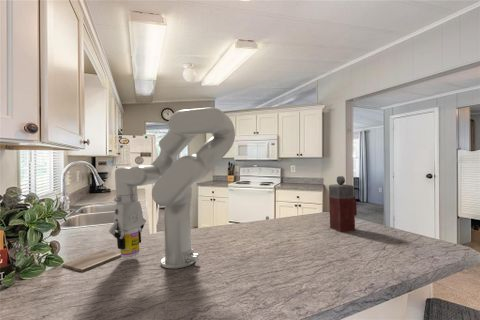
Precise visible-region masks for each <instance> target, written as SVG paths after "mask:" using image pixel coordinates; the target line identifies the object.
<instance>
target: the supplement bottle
mask: <svg viewBox="0 0 480 320" xmlns="http://www.w3.org/2000/svg"><path fill="white" fill-rule="evenodd" d="M120 234H121V232H120ZM123 238H124V239H125V249H119V250H120V253H121V257H120V258H123V259H124V258H132V257H135V256H138V255H139V254H140V243H139V231H138V228H134V229H131V230H127V231H125V233H124V236H123Z"/></svg>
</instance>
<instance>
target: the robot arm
mask: <svg viewBox="0 0 480 320" xmlns="http://www.w3.org/2000/svg"><path fill="white" fill-rule="evenodd" d="M168 128H169V130H168V131H167V132H166V134H164V136H163V137H162V138H161V139H159V141H158V145H159V147H160V152H159V154H158V156H157V157H156V159H154V161H153V162H151V164H150V165H136V166H132V167H131V166H129V167H118V168H116V169H115V170H114V180H115V181H114V182H115V198H113V202H115V203H116V204H115V206H114V211H113V224H112V225H111V227H110V228H109V229H108V233H110V234H111V235H112V236H113V237H114V238H115V239H116V242H117V244H116V245H117V249H118V250H120V249H125V239H124V238H123V236H124V233H125V231H127V230H131V229H134V228H138V231H139V244H142V234H141V233H142V232H143V229H144V227H145V224H146V222H147V220H146V219H145V218H144V215H143V210H142V204H141V202H140V200H138V199H139V198H138V197H139V196H138V187H141V186H147V185H153V187H152V190H151V197H152V200H153V202H155V204H157V205H159V206H161V207H164V214H163V216H164V219H163V220H164V225H163V226H164V227H163V228H164V257H163V258H161V260H160V266H161V267H163V268H166V269H173V270H174V269H182V268H185V267H188V266H192V265H193V264H194V263H197V262H198V260H199V257H200V254H199V253H195V252H194V248H192V225H191V224H192V223H191V220H192V217H191V210H192V209H191V207H192V205H191V204H192V196H193V187H192V185H193V184H194V183H198V182H200V181H203V180H204V179H206V177H207V176H208V174H210V172H211V171H212V170H213V169H214V168H215V167H216V166H217V165H218V163H219V162H220V161H221V160H223V158H224V157H225V156H226V154H227V153H228V152H229V151H230V150H231V148H232V147H233V145H234V142H235V139H236V131H235V130H236V129H235V126H234V124H233V121H232V119H231V118H230V117H229V116H228V115H227V114H226V113H225V112H223V110H221V109H219V108H216V107H202V108H191V109H181V110H177V111H176V112H173V113H172V115H171V116H170V117H169V119H168ZM201 134H211V136H210V138H209V139H208V140H207V141H205V142H204V143H203V144H202V145H201V146H200V148H199V149H198V150H197V151H196V152H195V153H193V154H191V155H184V156H181V157H179V155H180V154H181V153H182V152H183V151H184V149H185V148H186V147H187V146H188V145H189V144H190V143H191V142H192V141H193V140H194V139H195V138H196V136H198V135H201ZM178 157H179V158H178ZM120 232H121V234H120Z"/></svg>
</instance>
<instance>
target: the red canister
mask: <svg viewBox="0 0 480 320" xmlns="http://www.w3.org/2000/svg"><path fill="white" fill-rule="evenodd" d="M336 182H337V184H329V186H328V201H329V202H328V204H329V228H330V229H332V230H334V231H336V232H339V233H346V232H355V231H356V219H355V216H356V217H357V215H358V214H357V213H358V212H357V211H358V210H357V199H356V197H355V189H354V188H355V187H354V185H352V184H346V179H345V177H344V176H343V175H341V176H340V175H339V176H337V177H336Z"/></svg>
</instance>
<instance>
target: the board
mask: <svg viewBox="0 0 480 320" xmlns="http://www.w3.org/2000/svg"><path fill="white" fill-rule="evenodd" d="M120 258H122V257H121V252H115V251H111V250H106V249H102V250H99V251H96V252H94V253H92V254H88V255H85V256H83V257H79V258H77V259H74V260H72V261H69V262H65V263H62V267H63V268H66V269H71V270H72V271H73V270H74V271H77V272H81V273H84V272H86V271H89V270H91V269H94V268H97V267H100V266H102V265H104V264H107V263H109V262H112V261H115V260H117V259H120Z"/></svg>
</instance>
